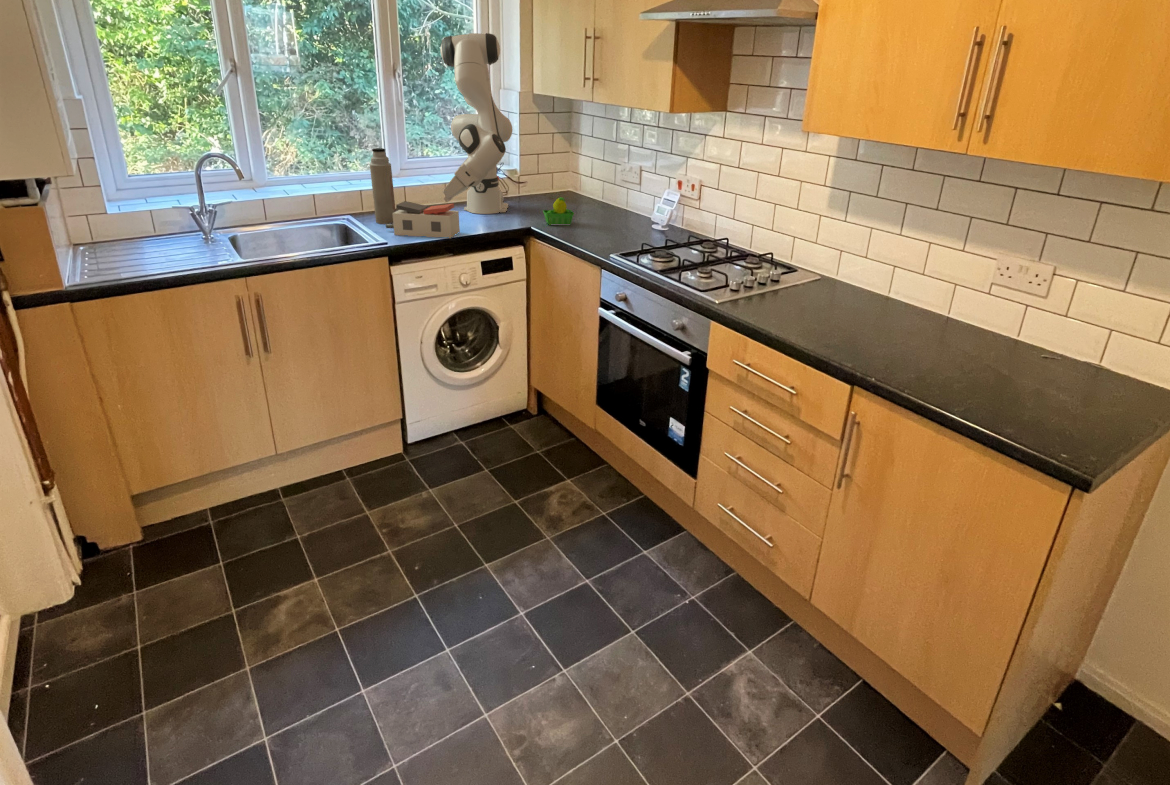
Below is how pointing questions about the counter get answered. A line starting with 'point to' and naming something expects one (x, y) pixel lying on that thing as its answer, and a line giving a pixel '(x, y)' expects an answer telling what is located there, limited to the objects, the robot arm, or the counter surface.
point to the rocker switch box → (425, 224)
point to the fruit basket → (558, 213)
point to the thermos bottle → (382, 187)
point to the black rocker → (411, 207)
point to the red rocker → (438, 209)
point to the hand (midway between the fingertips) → (446, 200)
